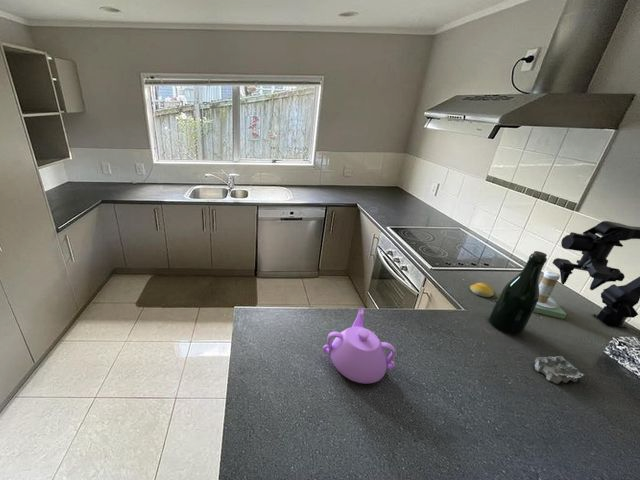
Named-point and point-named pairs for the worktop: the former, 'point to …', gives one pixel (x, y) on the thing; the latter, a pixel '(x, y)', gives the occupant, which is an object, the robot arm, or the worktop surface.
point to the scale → (550, 308)
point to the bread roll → (482, 289)
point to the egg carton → (557, 369)
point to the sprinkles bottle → (547, 285)
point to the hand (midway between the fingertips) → (576, 286)
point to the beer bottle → (519, 297)
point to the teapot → (359, 353)
